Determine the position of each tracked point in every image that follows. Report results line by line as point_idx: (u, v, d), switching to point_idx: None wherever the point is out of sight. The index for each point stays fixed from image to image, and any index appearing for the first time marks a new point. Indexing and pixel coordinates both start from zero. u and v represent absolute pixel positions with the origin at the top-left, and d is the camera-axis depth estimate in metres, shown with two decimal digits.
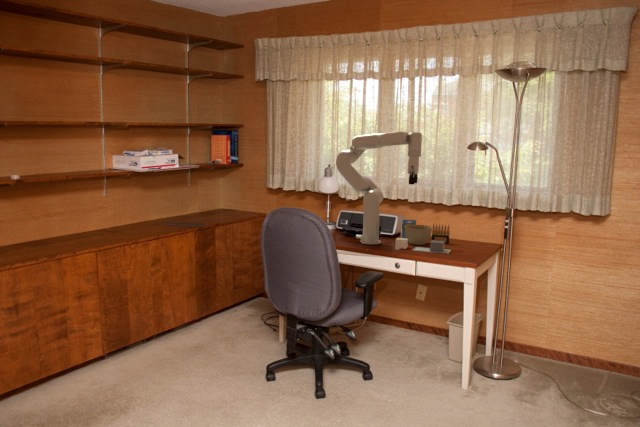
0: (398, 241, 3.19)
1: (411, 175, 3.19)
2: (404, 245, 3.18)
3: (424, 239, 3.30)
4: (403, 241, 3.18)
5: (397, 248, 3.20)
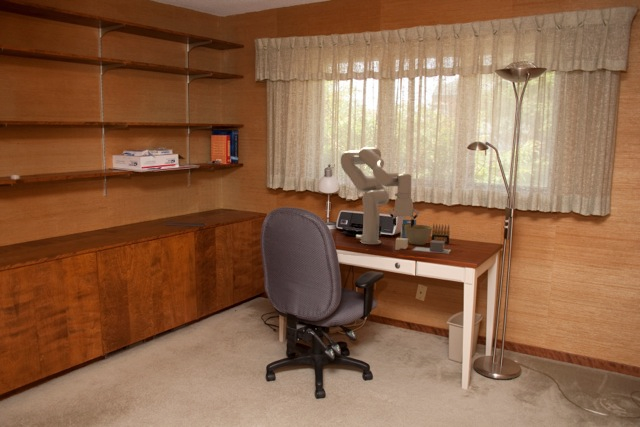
0: (398, 241, 3.19)
1: None
2: (404, 245, 3.18)
3: (424, 239, 3.30)
4: (403, 241, 3.18)
5: (397, 248, 3.20)
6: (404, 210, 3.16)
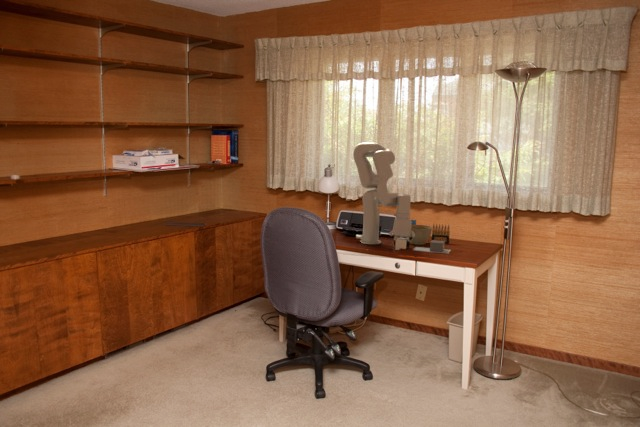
0: (398, 241, 3.19)
1: None
2: (404, 245, 3.18)
3: (424, 239, 3.30)
4: (403, 241, 3.18)
5: (397, 248, 3.20)
6: (402, 230, 3.18)
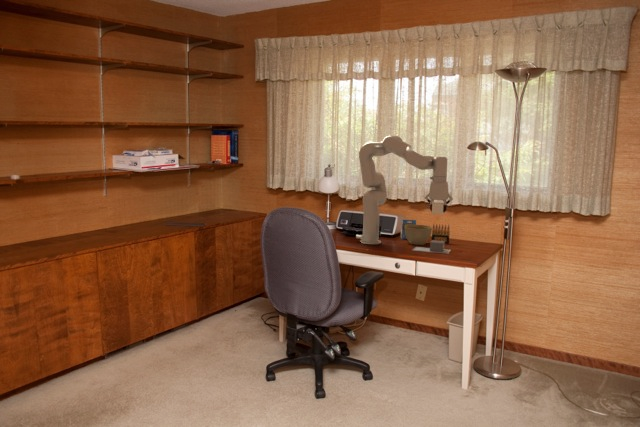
0: (435, 205, 3.10)
1: None
2: (441, 209, 3.09)
3: (424, 239, 3.30)
4: (440, 204, 3.09)
5: (434, 212, 3.10)
6: (439, 194, 3.08)
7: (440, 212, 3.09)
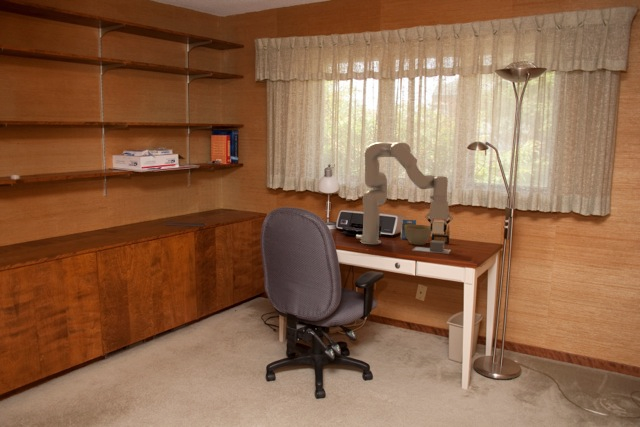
0: (435, 224, 3.11)
1: (448, 222, 3.11)
2: (441, 228, 3.10)
3: (424, 239, 3.30)
4: (441, 224, 3.10)
5: (434, 231, 3.12)
6: (440, 213, 3.10)
7: (440, 231, 3.10)
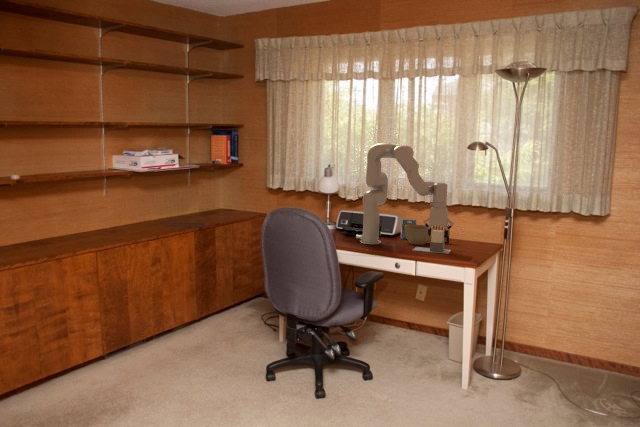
0: (434, 233, 3.12)
1: None
2: (440, 237, 3.11)
3: (424, 239, 3.30)
4: (440, 233, 3.11)
5: (433, 240, 3.12)
6: (439, 220, 3.10)
7: (439, 241, 3.11)
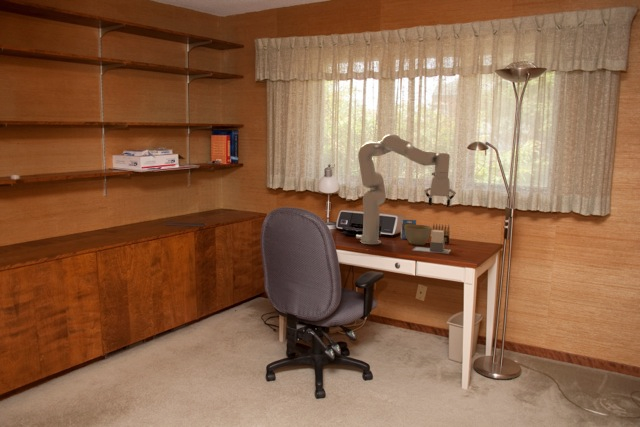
0: (434, 233, 3.12)
1: (452, 197, 3.13)
2: (440, 237, 3.11)
3: (424, 239, 3.30)
4: (440, 233, 3.11)
5: (433, 240, 3.12)
6: (441, 190, 3.11)
7: (439, 241, 3.11)
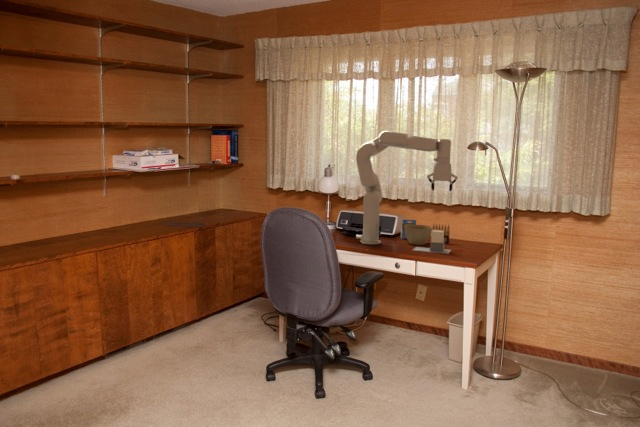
0: (434, 233, 3.12)
1: None
2: (440, 237, 3.11)
3: (424, 239, 3.30)
4: (440, 233, 3.11)
5: (433, 240, 3.12)
6: (443, 175, 3.20)
7: (439, 241, 3.11)
